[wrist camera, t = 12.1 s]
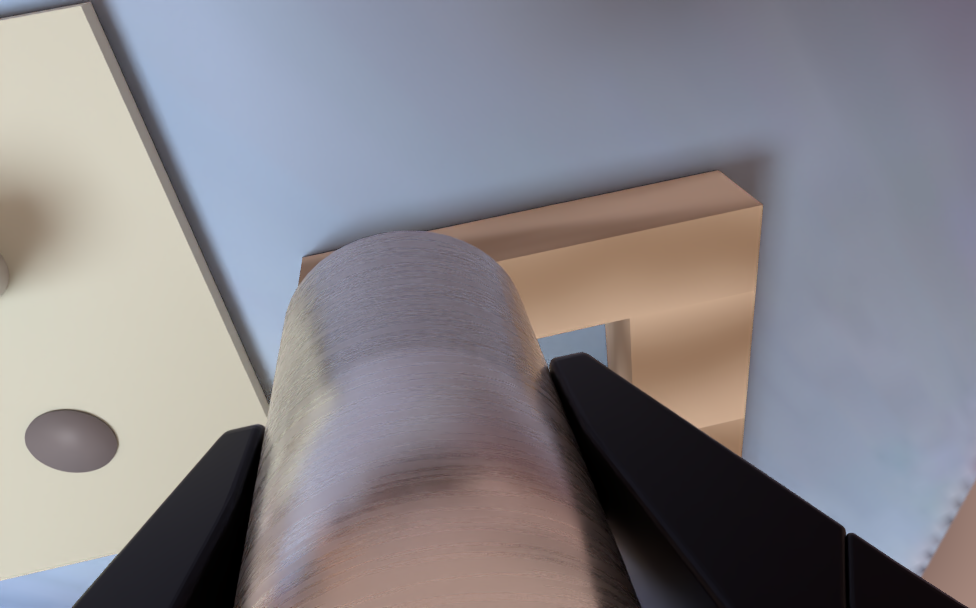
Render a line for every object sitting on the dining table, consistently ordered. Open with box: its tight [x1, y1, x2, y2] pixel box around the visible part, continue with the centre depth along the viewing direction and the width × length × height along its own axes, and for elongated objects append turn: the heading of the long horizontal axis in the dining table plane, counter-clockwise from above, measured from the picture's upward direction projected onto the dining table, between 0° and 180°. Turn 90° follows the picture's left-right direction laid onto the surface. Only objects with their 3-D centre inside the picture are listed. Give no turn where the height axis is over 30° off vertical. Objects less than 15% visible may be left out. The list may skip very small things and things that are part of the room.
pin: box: [233, 230, 642, 608], centre depth 6 cm, size 3×3×7 cm
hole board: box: [298, 170, 763, 457], centre depth 22 cm, size 18×12×2 cm, turn 9°
